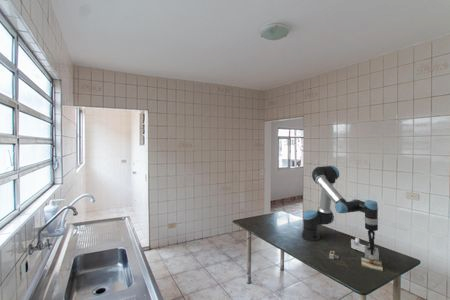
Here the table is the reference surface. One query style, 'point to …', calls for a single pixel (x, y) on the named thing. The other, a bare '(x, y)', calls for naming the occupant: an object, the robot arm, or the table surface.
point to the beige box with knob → (331, 254)
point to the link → (376, 253)
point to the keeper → (371, 264)
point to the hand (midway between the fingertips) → (371, 255)
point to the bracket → (357, 245)
